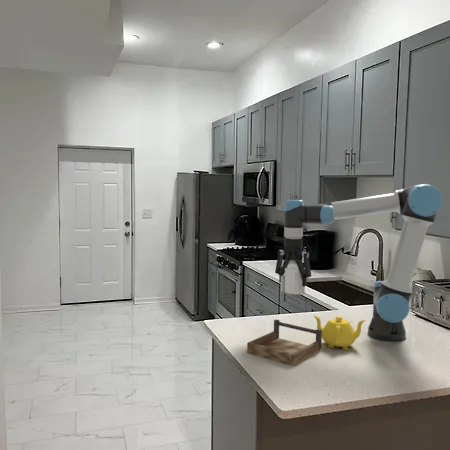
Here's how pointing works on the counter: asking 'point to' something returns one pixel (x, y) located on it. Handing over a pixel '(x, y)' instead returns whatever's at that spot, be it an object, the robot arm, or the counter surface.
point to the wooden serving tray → (284, 346)
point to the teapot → (339, 332)
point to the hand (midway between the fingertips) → (292, 292)
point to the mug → (292, 280)
